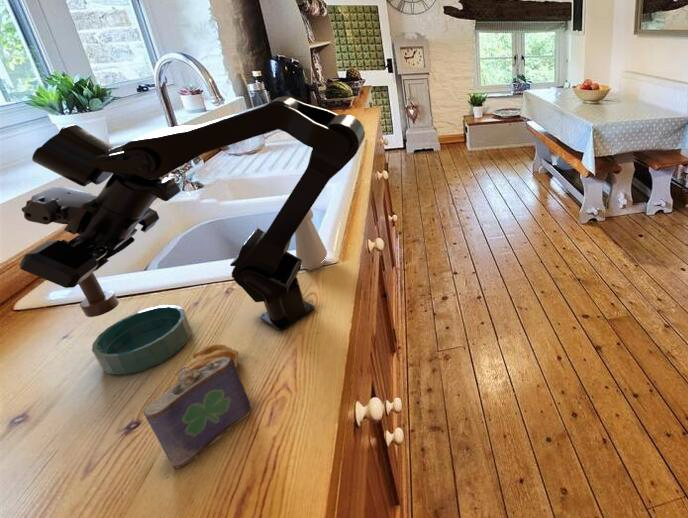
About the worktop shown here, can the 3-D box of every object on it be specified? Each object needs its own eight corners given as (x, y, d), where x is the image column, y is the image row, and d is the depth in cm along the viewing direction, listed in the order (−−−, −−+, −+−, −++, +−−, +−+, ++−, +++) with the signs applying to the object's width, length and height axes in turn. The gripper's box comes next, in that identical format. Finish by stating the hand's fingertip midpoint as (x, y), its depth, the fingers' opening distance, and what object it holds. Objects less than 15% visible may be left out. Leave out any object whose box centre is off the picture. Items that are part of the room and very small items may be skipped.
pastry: (233, 401, 56) (224, 381, 54) (173, 422, 53) (162, 402, 51) (241, 354, 63) (233, 335, 62) (189, 370, 61) (180, 351, 59)
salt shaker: (334, 257, 88) (321, 202, 83) (320, 272, 83) (305, 215, 78) (308, 256, 89) (293, 202, 84) (293, 271, 84) (276, 215, 78)
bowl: (205, 338, 67) (197, 319, 65) (119, 389, 58) (107, 368, 57) (175, 315, 72) (167, 297, 71) (92, 358, 64) (80, 338, 62)
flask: (178, 473, 47) (142, 407, 43) (165, 461, 48) (129, 396, 44) (256, 409, 54) (232, 347, 50) (243, 400, 56) (218, 339, 51)
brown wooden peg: (123, 304, 66) (95, 252, 62) (91, 320, 63) (60, 265, 59) (113, 297, 68) (85, 246, 64) (81, 312, 65) (50, 259, 61)
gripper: (108, 150, 65) (62, 219, 68) (-4, 197, 48) (-59, 287, 51) (180, 189, 69) (134, 253, 72) (100, 246, 52) (45, 326, 55)
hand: (73, 275), depth 63 cm, fingers closed on brown wooden peg, 2 cm apart
